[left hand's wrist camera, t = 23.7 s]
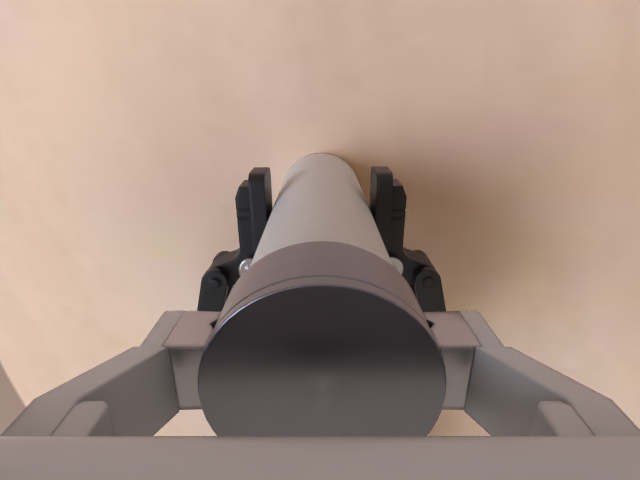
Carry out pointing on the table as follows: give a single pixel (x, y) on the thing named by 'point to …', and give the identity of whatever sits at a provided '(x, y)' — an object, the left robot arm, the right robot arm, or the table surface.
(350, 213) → the white plastic cylinder
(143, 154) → the table surface
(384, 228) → the right robot arm
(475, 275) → the table surface
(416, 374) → the lid
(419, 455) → the left robot arm
